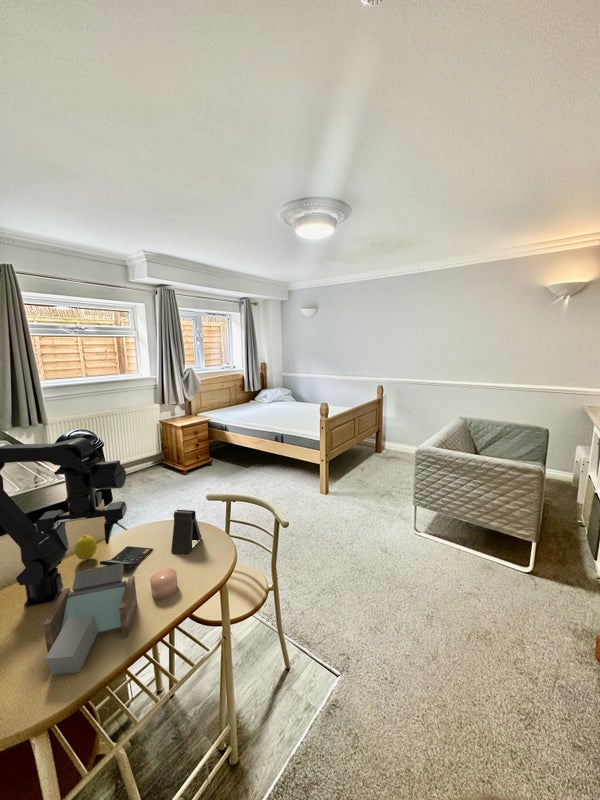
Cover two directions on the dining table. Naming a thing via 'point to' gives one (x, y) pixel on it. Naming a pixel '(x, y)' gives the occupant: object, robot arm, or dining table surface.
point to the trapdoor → (97, 596)
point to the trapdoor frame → (57, 613)
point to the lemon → (85, 547)
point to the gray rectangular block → (72, 645)
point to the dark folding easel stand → (184, 531)
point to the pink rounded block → (164, 583)
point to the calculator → (129, 556)
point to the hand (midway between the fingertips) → (87, 547)
